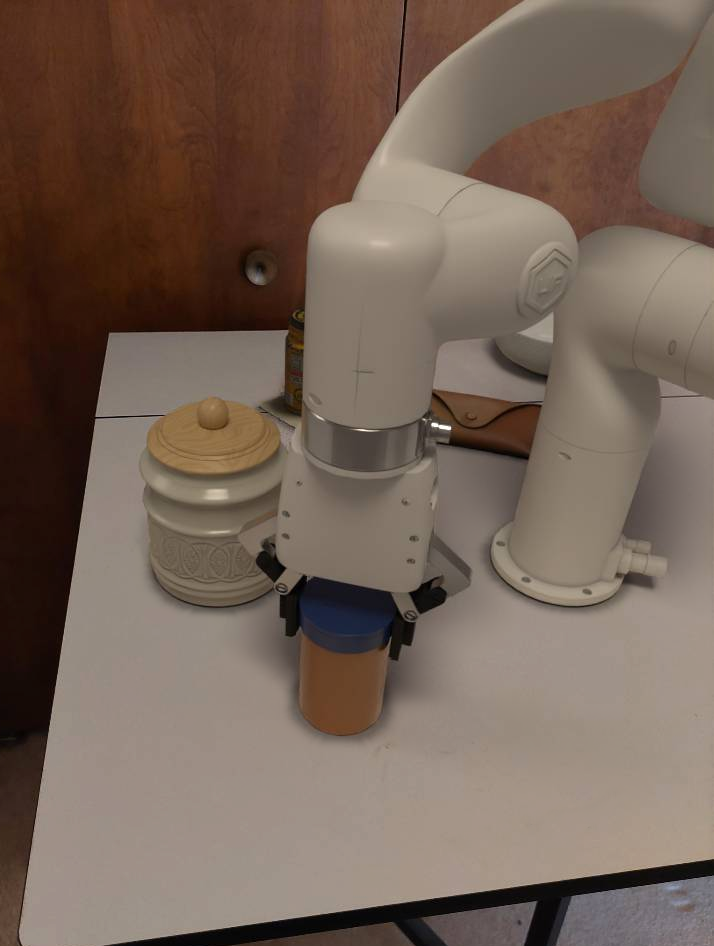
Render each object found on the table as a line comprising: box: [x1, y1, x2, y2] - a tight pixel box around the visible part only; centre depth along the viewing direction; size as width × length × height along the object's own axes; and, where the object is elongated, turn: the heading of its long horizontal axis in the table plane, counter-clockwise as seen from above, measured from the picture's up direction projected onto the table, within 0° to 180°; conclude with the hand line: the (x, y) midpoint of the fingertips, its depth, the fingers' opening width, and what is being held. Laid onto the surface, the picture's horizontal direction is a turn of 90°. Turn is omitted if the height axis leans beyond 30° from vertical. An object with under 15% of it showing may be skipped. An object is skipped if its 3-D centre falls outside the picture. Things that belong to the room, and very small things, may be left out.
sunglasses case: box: [431, 388, 542, 458], centre depth 96 cm, size 18×7×7 cm
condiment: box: [257, 307, 305, 429], centre depth 97 cm, size 7×8×12 cm
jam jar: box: [298, 628, 391, 736], centre depth 60 cm, size 7×7×10 cm
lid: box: [299, 576, 397, 654], centre depth 57 cm, size 7×7×2 cm
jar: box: [138, 396, 288, 607], centre depth 71 cm, size 13×13×18 cm
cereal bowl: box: [494, 311, 554, 377], centre depth 110 cm, size 17×17×7 cm
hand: (345, 634), depth 59 cm, fingers closed on lid, 7 cm apart
